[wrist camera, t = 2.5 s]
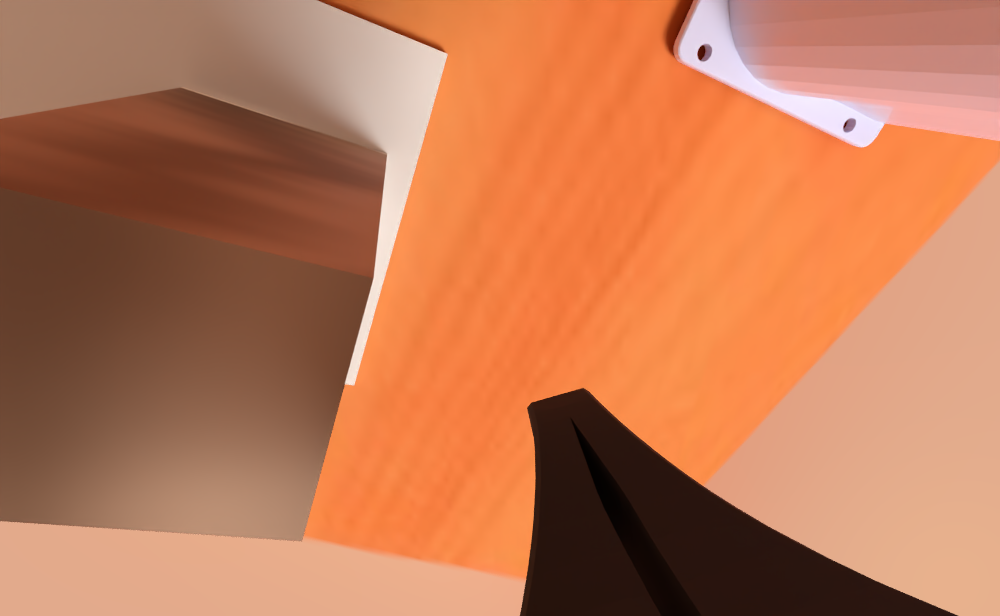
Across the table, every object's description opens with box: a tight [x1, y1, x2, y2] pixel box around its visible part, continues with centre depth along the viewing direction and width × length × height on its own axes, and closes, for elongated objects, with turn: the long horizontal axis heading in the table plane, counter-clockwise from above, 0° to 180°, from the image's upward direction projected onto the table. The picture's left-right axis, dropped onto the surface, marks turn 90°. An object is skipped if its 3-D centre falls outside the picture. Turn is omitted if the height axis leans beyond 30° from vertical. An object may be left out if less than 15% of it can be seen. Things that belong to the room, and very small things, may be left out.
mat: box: [0, 0, 447, 385], centre depth 15 cm, size 19×13×1 cm
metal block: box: [0, 87, 387, 541], centre depth 12 cm, size 6×6×10 cm
